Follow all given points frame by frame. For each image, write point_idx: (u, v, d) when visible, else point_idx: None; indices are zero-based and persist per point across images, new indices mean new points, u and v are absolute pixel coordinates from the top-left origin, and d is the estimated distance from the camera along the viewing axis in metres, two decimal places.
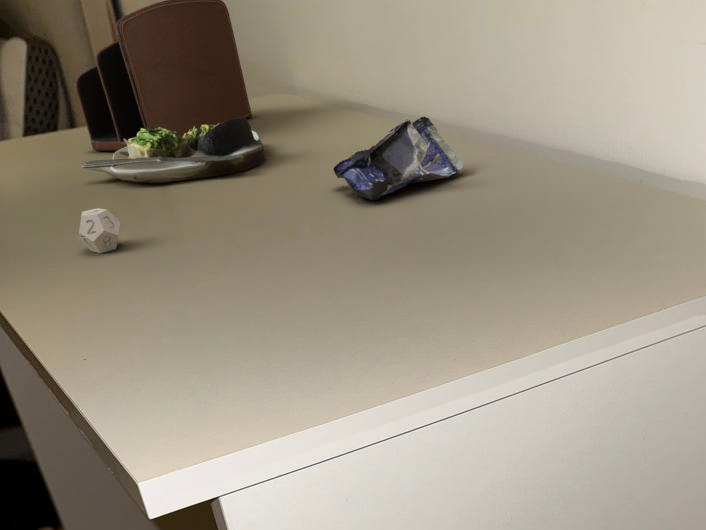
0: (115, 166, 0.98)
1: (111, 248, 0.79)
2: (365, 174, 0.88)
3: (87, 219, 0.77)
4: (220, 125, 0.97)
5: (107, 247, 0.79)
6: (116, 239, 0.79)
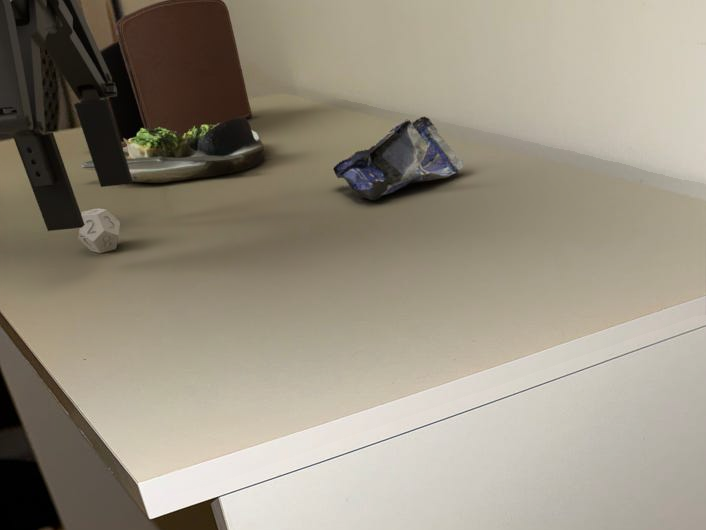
0: None
1: (111, 248, 0.79)
2: (365, 173, 0.88)
3: (87, 219, 0.77)
4: (220, 125, 0.97)
5: (107, 247, 0.79)
6: (116, 239, 0.79)
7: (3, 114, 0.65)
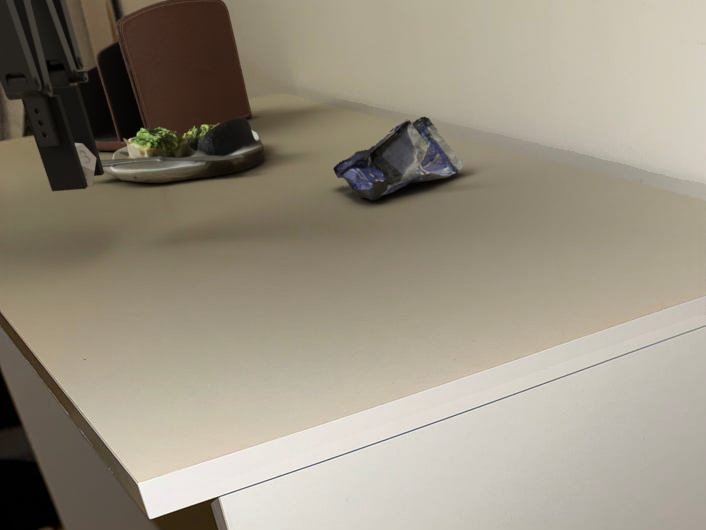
0: (115, 166, 0.98)
1: None
2: (365, 173, 0.88)
3: None
4: (220, 125, 0.97)
5: None
6: (92, 175, 0.76)
7: (12, 78, 0.67)
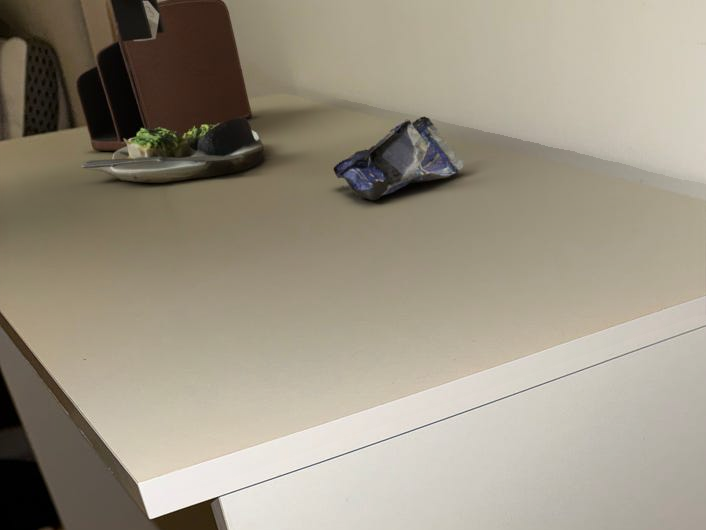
0: (115, 166, 0.98)
1: None
2: (365, 173, 0.88)
3: None
4: (220, 125, 0.97)
5: None
6: (156, 28, 0.89)
7: None
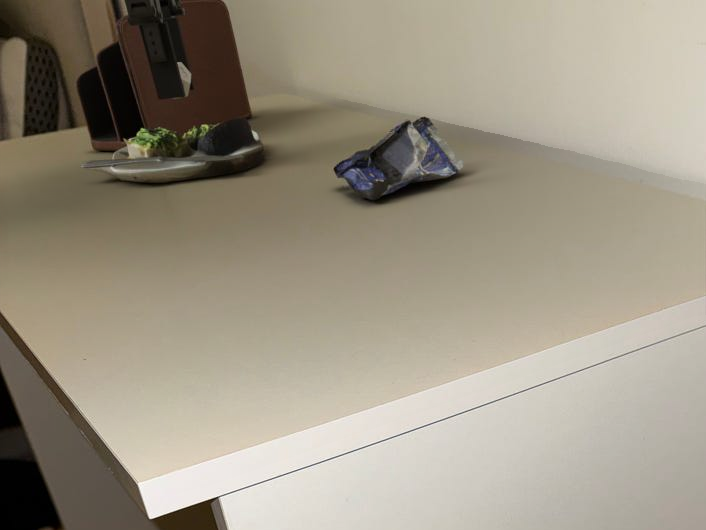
0: (115, 166, 0.98)
1: None
2: (365, 173, 0.88)
3: None
4: (220, 125, 0.97)
5: None
6: (188, 87, 0.98)
7: (136, 6, 0.89)
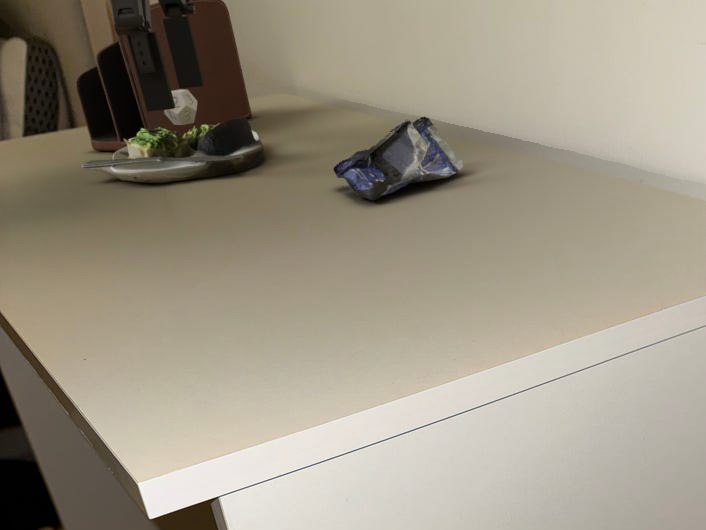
0: (115, 166, 0.98)
1: (190, 121, 1.00)
2: (365, 173, 0.88)
3: None
4: (220, 125, 0.97)
5: (187, 120, 0.99)
6: (194, 114, 0.99)
7: (123, 13, 0.86)
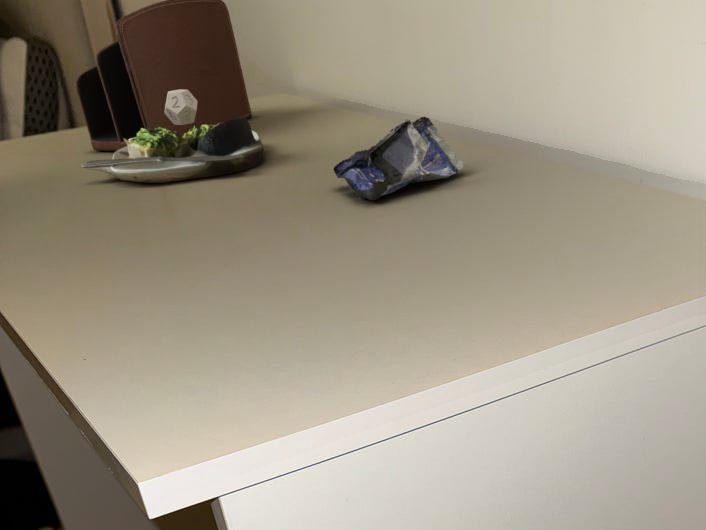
0: (115, 166, 0.98)
1: (190, 121, 1.00)
2: (365, 173, 0.88)
3: (172, 95, 0.98)
4: (220, 125, 0.97)
5: (187, 120, 0.99)
6: (194, 114, 0.99)
7: None
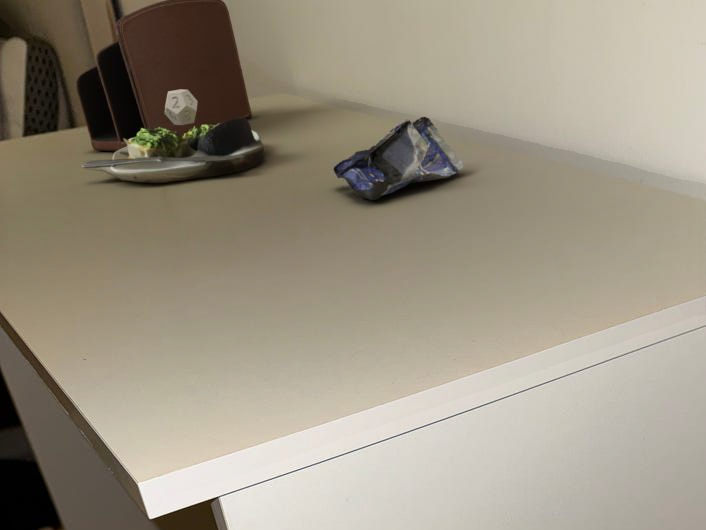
0: (115, 166, 0.98)
1: (190, 121, 1.00)
2: (365, 173, 0.88)
3: (172, 96, 0.98)
4: (220, 125, 0.97)
5: (187, 120, 0.99)
6: (194, 114, 0.99)
7: None
